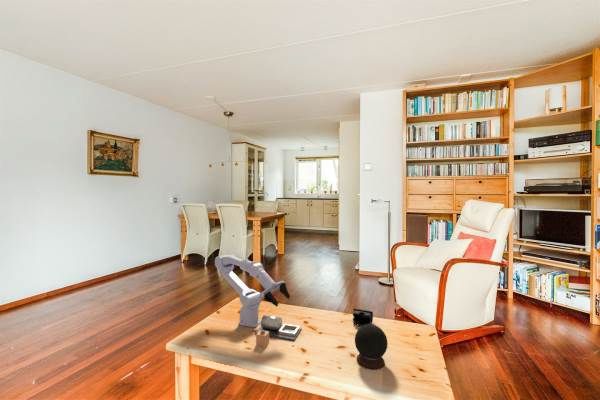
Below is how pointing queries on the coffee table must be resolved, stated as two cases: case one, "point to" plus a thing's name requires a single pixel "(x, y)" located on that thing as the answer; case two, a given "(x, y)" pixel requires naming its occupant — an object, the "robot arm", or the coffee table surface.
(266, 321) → the motor mount
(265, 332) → the cube with grey knob
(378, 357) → the black orb on pedestal
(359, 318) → the end cap
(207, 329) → the coffee table surface
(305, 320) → the coffee table surface
